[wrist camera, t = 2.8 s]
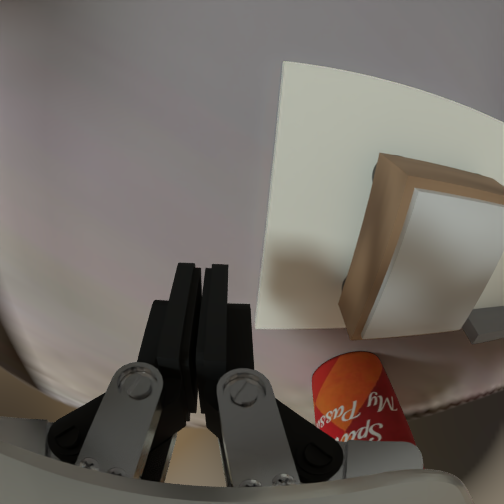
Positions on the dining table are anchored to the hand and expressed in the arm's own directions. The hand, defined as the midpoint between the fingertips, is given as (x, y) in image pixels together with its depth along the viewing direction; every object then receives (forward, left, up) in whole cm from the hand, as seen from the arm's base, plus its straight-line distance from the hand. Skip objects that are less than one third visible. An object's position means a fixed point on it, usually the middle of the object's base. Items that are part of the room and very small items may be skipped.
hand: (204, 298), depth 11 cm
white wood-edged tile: (-1, +10, -4) cm, 11 cm away
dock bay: (-1, +16, -5) cm, 17 cm away
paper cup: (+12, +10, -5) cm, 17 cm away
